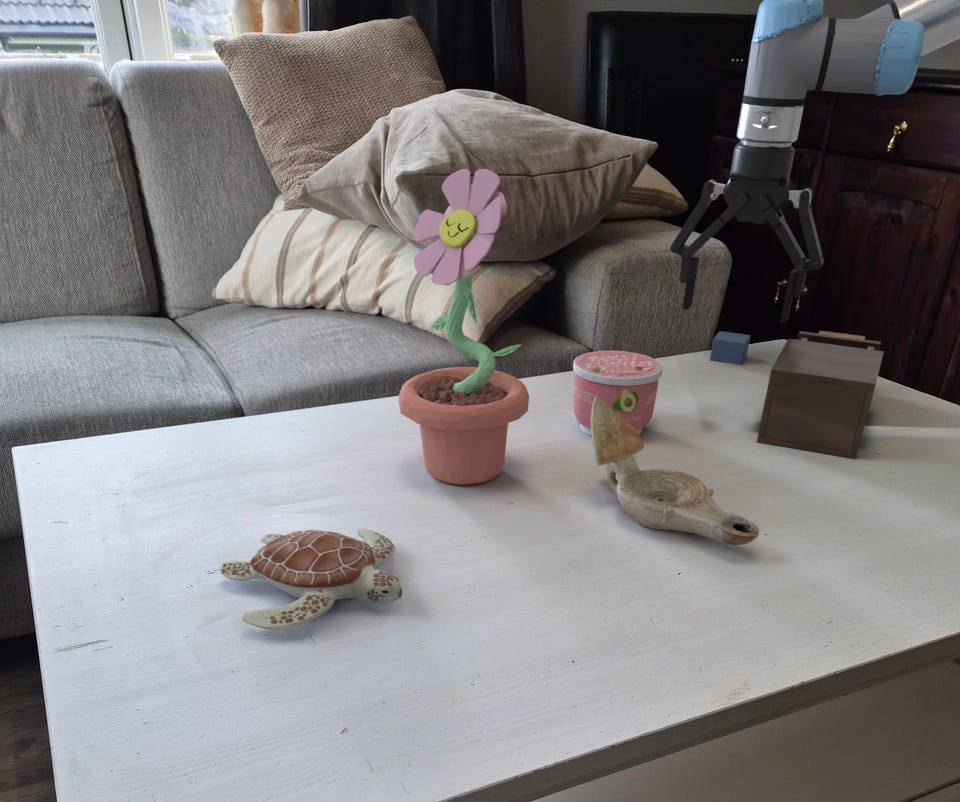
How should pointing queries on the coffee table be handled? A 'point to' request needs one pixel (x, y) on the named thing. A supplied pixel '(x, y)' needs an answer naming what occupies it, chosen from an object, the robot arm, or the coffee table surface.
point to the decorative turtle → (317, 573)
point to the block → (730, 347)
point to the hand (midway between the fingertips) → (734, 313)
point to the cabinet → (819, 397)
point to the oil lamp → (659, 486)
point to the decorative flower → (463, 342)
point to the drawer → (839, 339)
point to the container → (616, 386)
